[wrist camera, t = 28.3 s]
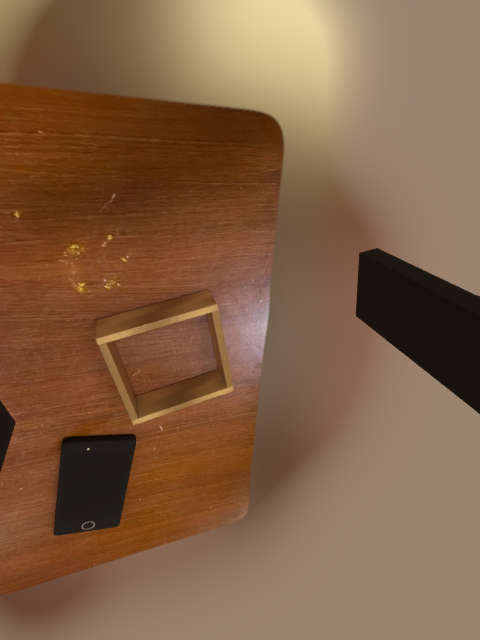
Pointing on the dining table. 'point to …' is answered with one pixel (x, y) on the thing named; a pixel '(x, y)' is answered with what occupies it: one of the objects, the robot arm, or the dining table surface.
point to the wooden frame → (151, 319)
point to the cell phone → (92, 482)
